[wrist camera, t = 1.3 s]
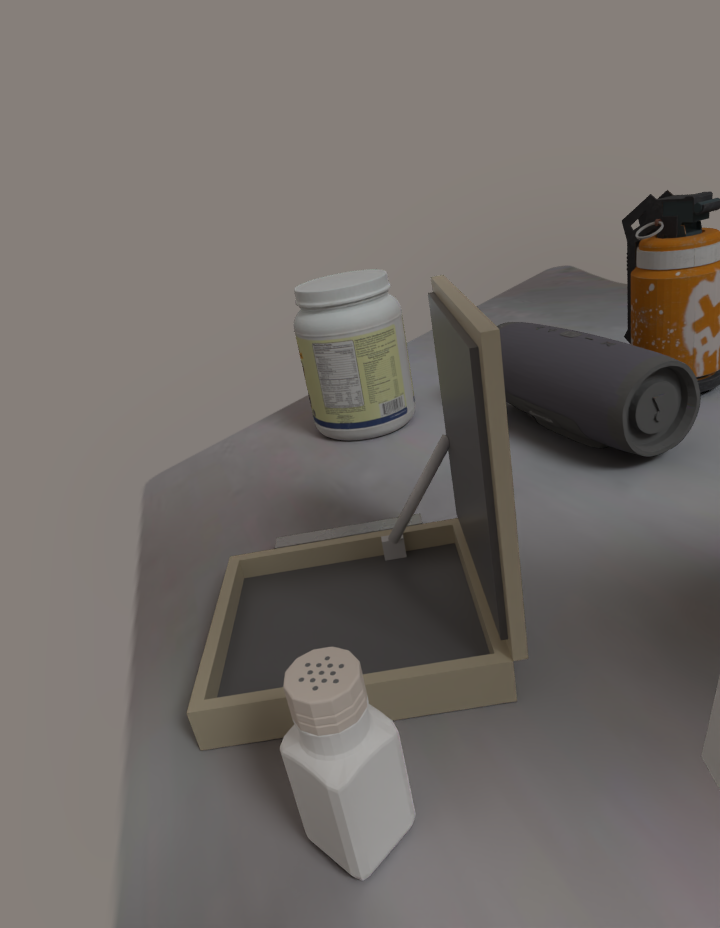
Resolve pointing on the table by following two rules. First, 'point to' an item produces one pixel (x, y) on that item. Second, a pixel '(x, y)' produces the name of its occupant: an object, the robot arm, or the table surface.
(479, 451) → the case
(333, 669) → the pepper shaker
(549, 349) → the bluetooth speaker
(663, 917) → the table surface
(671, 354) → the canister
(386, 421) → the supplement tub
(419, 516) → the bar
